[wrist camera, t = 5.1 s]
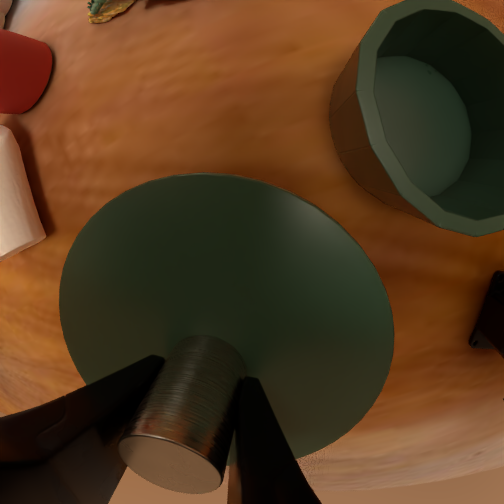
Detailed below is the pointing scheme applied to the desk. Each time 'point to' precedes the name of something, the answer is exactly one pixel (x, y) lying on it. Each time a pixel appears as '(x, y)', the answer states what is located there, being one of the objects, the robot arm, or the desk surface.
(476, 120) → the bin
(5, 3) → the ice cream cone
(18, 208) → the white bottle
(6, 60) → the beer can
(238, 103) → the desk surface
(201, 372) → the bin lid
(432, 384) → the desk surface
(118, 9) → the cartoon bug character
